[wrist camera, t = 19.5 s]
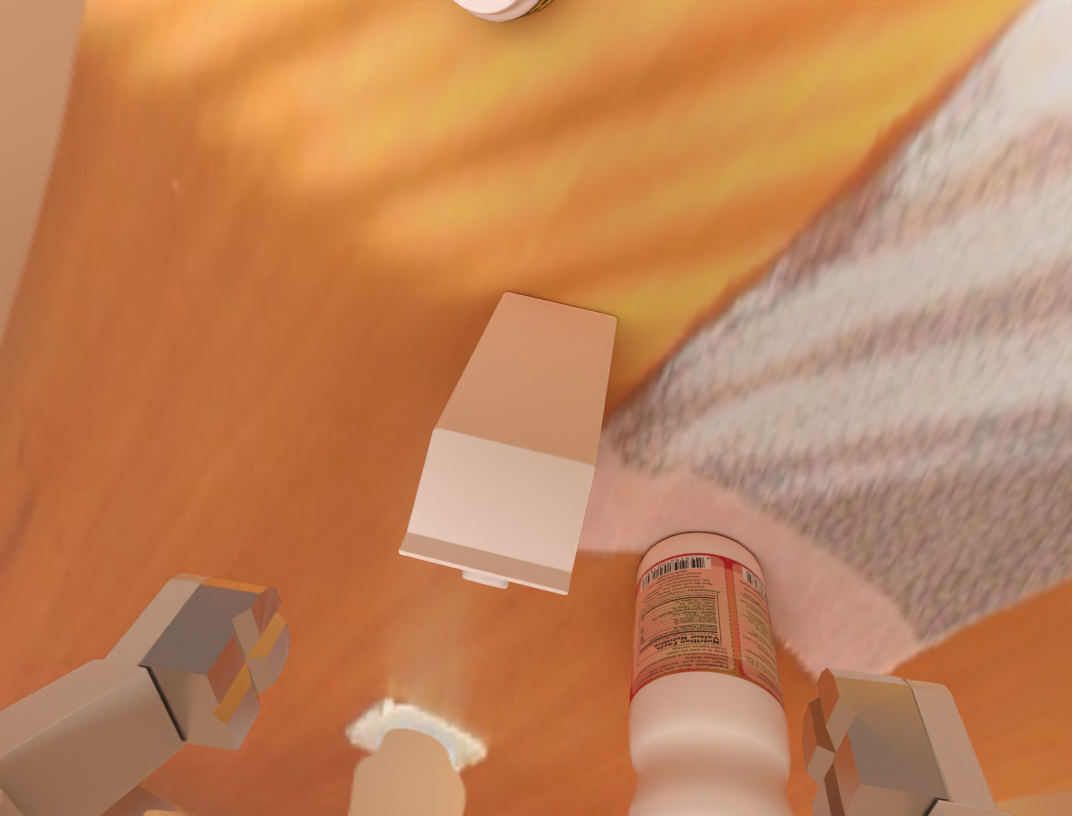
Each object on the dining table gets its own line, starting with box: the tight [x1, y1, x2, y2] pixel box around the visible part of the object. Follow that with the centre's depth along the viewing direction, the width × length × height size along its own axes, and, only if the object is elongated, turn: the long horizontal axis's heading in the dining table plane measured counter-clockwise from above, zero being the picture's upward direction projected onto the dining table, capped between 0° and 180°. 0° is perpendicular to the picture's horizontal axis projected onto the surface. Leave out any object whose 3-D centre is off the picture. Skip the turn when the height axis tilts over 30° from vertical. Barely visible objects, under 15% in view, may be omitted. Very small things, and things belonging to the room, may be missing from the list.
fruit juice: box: [627, 533, 795, 816], centre depth 40 cm, size 9×9×28 cm
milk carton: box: [399, 292, 617, 595], centre depth 35 cm, size 7×7×19 cm
